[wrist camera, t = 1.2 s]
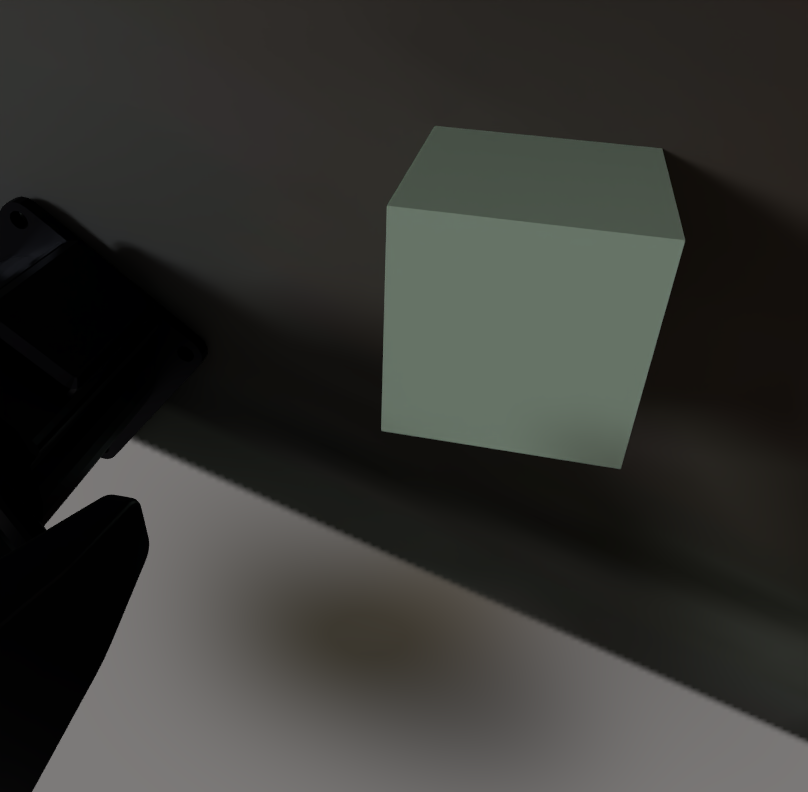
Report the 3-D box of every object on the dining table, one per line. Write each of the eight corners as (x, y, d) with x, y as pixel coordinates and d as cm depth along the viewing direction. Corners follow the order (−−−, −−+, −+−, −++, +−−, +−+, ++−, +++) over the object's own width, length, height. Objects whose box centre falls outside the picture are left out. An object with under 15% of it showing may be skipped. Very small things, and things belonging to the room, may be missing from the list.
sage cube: (662, 147, 16) (685, 240, 12) (614, 342, 19) (620, 469, 15) (435, 124, 17) (387, 205, 13) (423, 316, 20) (380, 430, 16)
